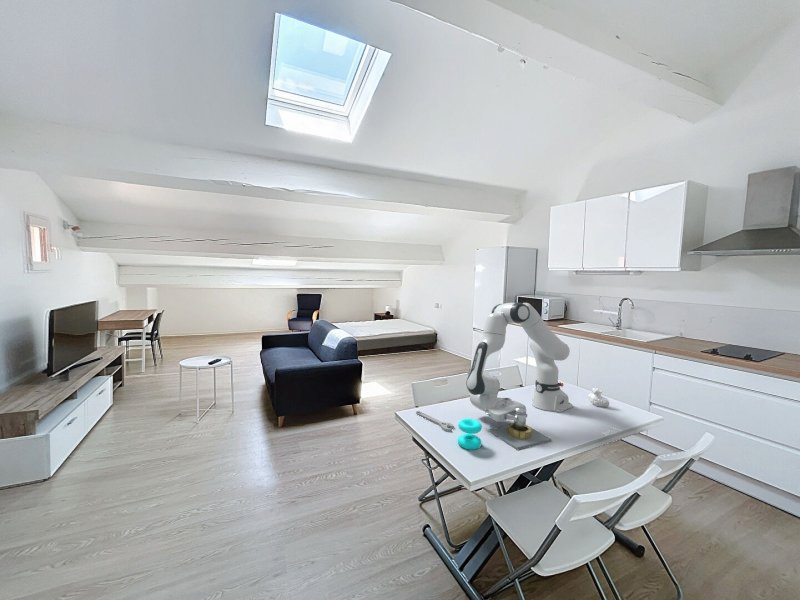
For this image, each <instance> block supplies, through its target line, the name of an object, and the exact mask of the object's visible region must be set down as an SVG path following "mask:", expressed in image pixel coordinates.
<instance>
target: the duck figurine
mask: <svg viewBox="0 0 800 600" xmlns="http://www.w3.org/2000/svg"><path fill="white" fill-rule="evenodd" d="M591 391H592V392H591V393H589V394H588V398H589V400H590V401H589V402H590V403H591V404H592V405H593V406H595V405H596V406H595V407H601V408H602V407H603V408H608V407H609V406H610V401H609V399H608V398H606V397H604V396H602V393H603V390H601V389H600V388H599V387H598V388H597V387H592V389H591Z"/></svg>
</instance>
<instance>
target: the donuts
mask: <svg viewBox="0 0 800 600" xmlns="http://www.w3.org/2000/svg"><path fill="white" fill-rule="evenodd" d="M457 426H458V428H459V430H460V431H461V432H463V434H461V435H459V437H458V438H457V443H458V444H459V447H461V448H463V449H466V450H471V451H473V450H477V449H479V448H481V446H482V439H481V438H480V437H479V436H478V435H476V434H478V433H479V432H481V431H482V428H483V425H482V423H481V422H480V421H478V420H477V419H473V418H463V419H460V420H459V421H458V423H457Z"/></svg>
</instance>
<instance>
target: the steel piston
mask: <svg viewBox="0 0 800 600" xmlns="http://www.w3.org/2000/svg"><path fill="white" fill-rule="evenodd" d="M526 414H527V407H526V408H524V407H521V406H516V407H515V410H514V416H517V417H518V421H514V420H513V423H514V429H515V430H518V431H526V425H527V423H526V422H527V417H526Z"/></svg>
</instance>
